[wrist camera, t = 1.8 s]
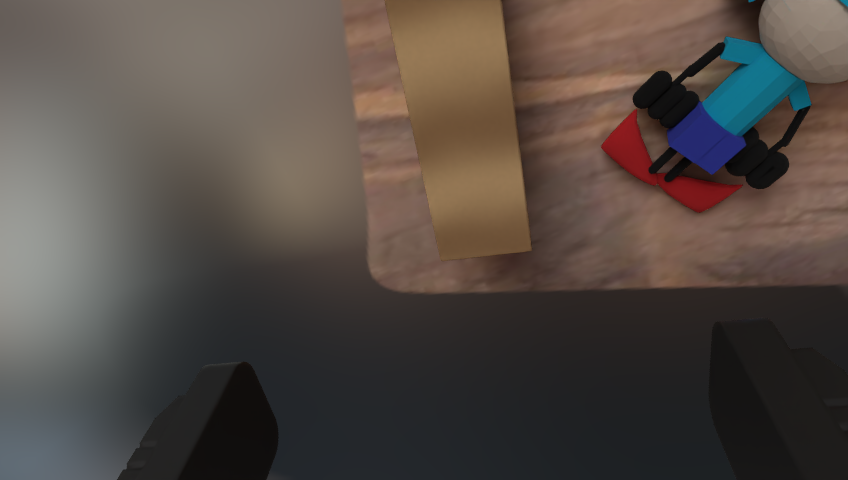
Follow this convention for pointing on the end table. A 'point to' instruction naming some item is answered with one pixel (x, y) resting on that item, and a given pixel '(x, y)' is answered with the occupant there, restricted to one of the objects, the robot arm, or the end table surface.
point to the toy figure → (737, 102)
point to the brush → (463, 123)
